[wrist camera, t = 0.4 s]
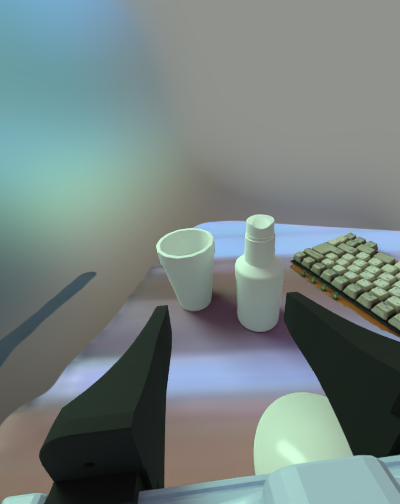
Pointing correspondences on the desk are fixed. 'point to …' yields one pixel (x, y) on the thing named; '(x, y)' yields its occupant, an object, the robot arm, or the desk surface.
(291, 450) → the dish
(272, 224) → the spray bottle
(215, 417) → the desk surface
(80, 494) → the robot arm
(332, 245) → the mechanical keyboard
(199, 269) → the foam cup
